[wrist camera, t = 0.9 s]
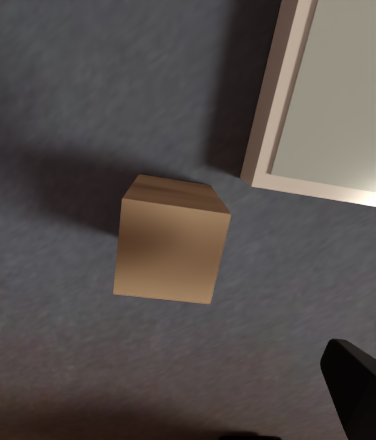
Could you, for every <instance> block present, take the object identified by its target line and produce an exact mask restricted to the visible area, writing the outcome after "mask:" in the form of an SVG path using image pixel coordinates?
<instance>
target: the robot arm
mask: <svg viewBox="0 0 376 440" xmlns="http://www.w3.org/2000/svg"><path fill="white" fill-rule="evenodd" d="M320 366H321V371H322V373H323V376H324V379H325V381H326V384H327V387H328V389H329V392H330V395H331V397H332V400H333V403H334V405H335V408H336V411H337V413H338V416H339V419H340V421H341V424H342V426H343V429H344V431H345V433H346V436H347V438H348V440H376V359H374V358H373V357H371V356H370V355H368V354H367V353H365V352H364V351H362V350H361V349H359V348H358V347H356V346H355V345H353V344H351V343H350V342H348V341H346V340H342V339H331V340H330V341H329V342H328V344H327V346H326V349H325V351H324V353H323V356H322V358H321V361H320ZM219 440H279V439H256V438H233V437H222V438H220V439H219Z"/></svg>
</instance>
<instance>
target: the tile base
mask: <svg viewBox="0 0 376 440" xmlns="http://www.w3.org/2000/svg"><path fill="white" fill-rule="evenodd" d="M240 179H242V180H243V181H244V182H246V183H247V184H249V185H250V186H252V187H258V188H264V189H271V190H277V191H283V192H289V193H295V194H301V195H308V196H314V197H320V198H326V199H332V200H339V201H345V202H351V203H357V204H363V205H369V206H376V0H282V2H281V6H280V10H279V14H278V18H277V23H276V27H275V31H274V35H273V40H272V44H271V48H270V52H269V57H268V61H267V65H266V69H265V74H264V78H263V82H262V86H261V91H260V95H259V99H258V103H257V108H256V112H255V116H254V120H253V124H252V129H251V133H250V137H249V141H248V146H247V150H246V154H245V158H244V163H243V167H242V171H241V175H240Z"/></svg>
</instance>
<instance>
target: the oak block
mask: <svg viewBox="0 0 376 440" xmlns="http://www.w3.org/2000/svg"><path fill="white" fill-rule="evenodd" d="M230 218H231V213H230V212H229V210H228V209H227V208H226V206H225V205H224V203H223V202H222V201H221V199H220V198H219V197H218V195H217V194H216V192H215V191H214V190H213V188H212V187H211V186H210V185H205V184H198V183H192V182H186V181H179V180H173V179H167V178H161V177H154V176H148V175H142V174H139V175H138V176H137V178H136V179H135V181H134V182H133V184H132V185H131V186H130V188H129V189H128V191H127V192H126V194H125V195H124V196H123V198H122V205H121V216H120V227H119V238H118V248H117V259H116V270H115V281H114V291H113V294H118V295H127V296H137V297H146V298H156V299H166V300H175V301H185V302H195V303H204V304H210V303H211V299H212V295H213V290H214V286H215V282H216V278H217V273H218V269H219V265H220V261H221V256H222V252H223V248H224V244H225V239H226V235H227V231H228V227H229V223H230Z"/></svg>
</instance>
